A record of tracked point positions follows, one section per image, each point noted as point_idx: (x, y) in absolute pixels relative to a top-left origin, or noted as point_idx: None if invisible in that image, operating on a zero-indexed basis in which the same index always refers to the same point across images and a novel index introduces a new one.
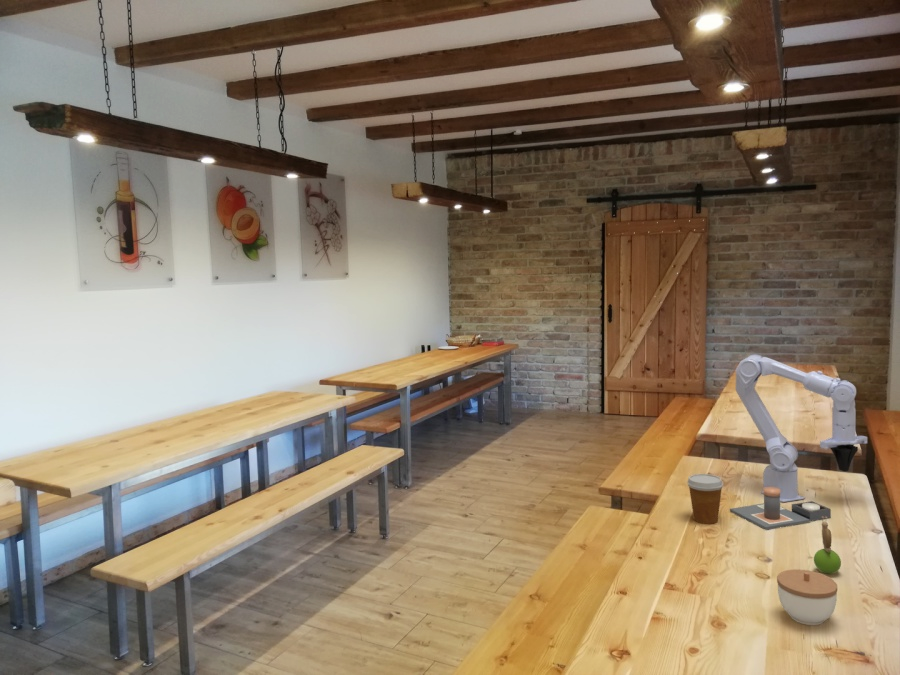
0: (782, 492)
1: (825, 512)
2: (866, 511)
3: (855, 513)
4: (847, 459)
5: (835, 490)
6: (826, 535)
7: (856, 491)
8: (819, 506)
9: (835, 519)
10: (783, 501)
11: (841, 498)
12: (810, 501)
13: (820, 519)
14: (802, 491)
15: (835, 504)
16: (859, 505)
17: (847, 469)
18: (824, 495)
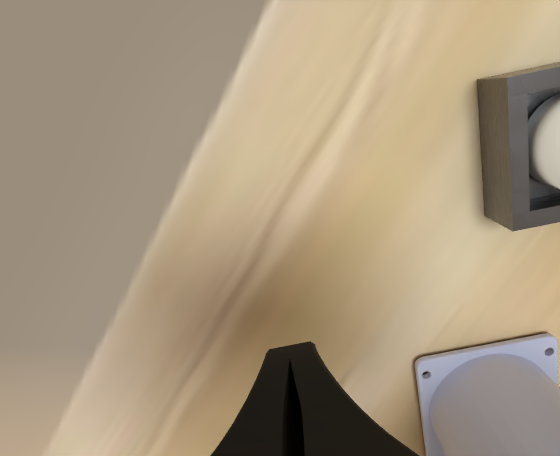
0: (557, 385)
1: (537, 69)
2: (220, 142)
3: (298, 123)
4: (311, 418)
5: (194, 439)
6: None
7: (102, 413)
8: (556, 117)
9: (466, 54)
10: (549, 335)
11: (231, 340)
12: (524, 227)
13: (549, 64)
14: None
15: (314, 269)
16: (202, 234)
17: (284, 351)
18: None
